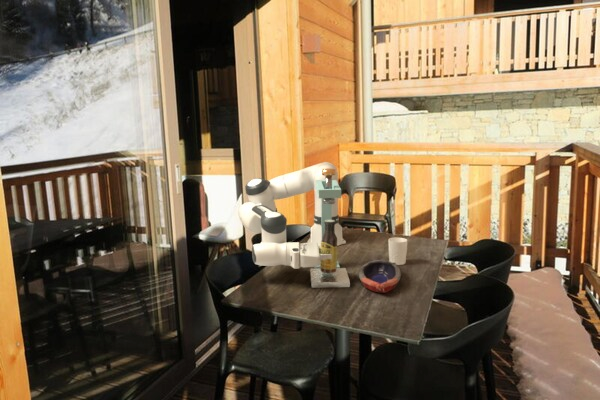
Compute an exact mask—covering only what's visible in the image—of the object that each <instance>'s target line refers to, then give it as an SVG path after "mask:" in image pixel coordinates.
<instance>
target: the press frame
mask: <svg viewBox="0 0 600 400" xmlns="http://www.w3.org/2000/svg"><path fill="white" fill-rule="evenodd" d="M316 189H317V193H318V197H319V198H321V232H322V237H323V234H324V231H325V224H324V222H325V220H332V204H324V203H323V198H338V199H341V198H342V188H341V187H340V185H339V182H338V183H337V181H336V180H332V189H326V182H325V180H316ZM320 268H321V267H320V265H319V266H316V267H314V269H320ZM337 268H341V266H340V263H339V260H337Z"/></svg>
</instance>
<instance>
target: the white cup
mask: <svg viewBox="0 0 600 400" xmlns="http://www.w3.org/2000/svg"><path fill="white" fill-rule="evenodd" d="M407 252H408V239H407V238H405V237H399V236H398V237H390V238H388V259H389V260H388V261H390V262H392V263H394V262H395V263H396V265H397V266H403V265H405V264H406V262H407V261H406V260H407Z"/></svg>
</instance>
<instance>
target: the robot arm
mask: <svg viewBox="0 0 600 400" xmlns="http://www.w3.org/2000/svg"><path fill="white" fill-rule="evenodd" d="M327 168H331V169H336V175H332V180H336V181H337V183H338V184H339V173H338V169H337V167H336V166H335V164H333V163H331V162H328V161H324V162H320V163H316V164H313V165H311V166H308V167H305V168H302V169H299V170H296V171H292V172H288V173H285V174H282V175H279V176H275V177H274V178H271V179H269V180H267V179H265V178H260V177H257V178H256V177H255V178H253V179H251V180H249V181H248V182H247V183H246V185H245V187H244V189H245V193H246V196H247V199H248V202H247V201H246V202H244V203H243V204H241V206H239V209H238V216H239V220H240V222H241V224H242V225H243V227H244V228H245V229H246V231H248V232H249V233H251V234H254V235H257V234H261V242H260V243H255V244H253V245H252V247H251V256H252V262H253V263H254V264H255V265H258V266H265V267H277V266H286V267H288V266H289V267H291V268H293V269H298V270H299V269H300V268H315V267H316V266H319V265H320V261H321V260H326V259H332V254H331V253H330V254H329V253H327V254H321V240H322V232H321V198H319V197H318V193H317V189H316V180H325V175H322V169H327ZM310 191H314V215H313V225H312V226H311V227H310V229H309V233H310V236H309V238H308V240H307V242H302V243H300V242H299V241H297V242H296V241H295V242H293V241H289V242H287V224H288V223H287V222H288V220H287V217H286V216H285V215H284V214H283V213H282V212H278V208H277V207H276V202H275V200H281V199H283V200H284V199H288V198H292V197H295V196H298V195H301V194H302V195H303V194H305V193H308V192H310ZM338 212H339V198H335V203H333V204H332V220H335V229H334V230H335V235H336V237H337V247H338V246H340V245H341V246H342V245H345V244H347V241H346V240H345V239H344V238H343V226H342V225H341V224H340V222H339V221H340V220H339V219H340V216H339V213H338Z"/></svg>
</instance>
